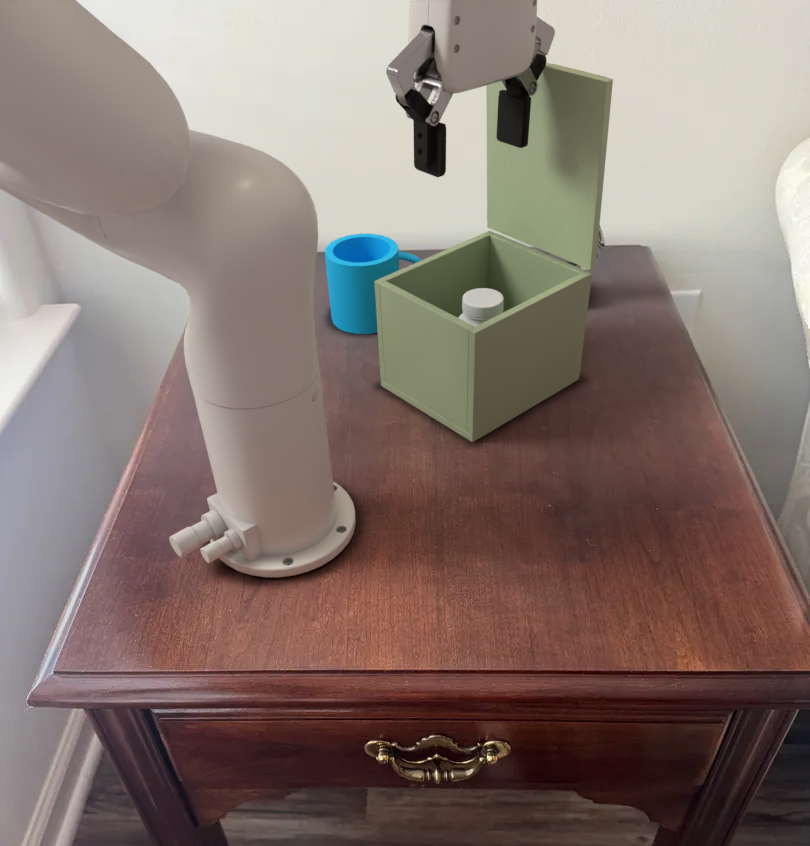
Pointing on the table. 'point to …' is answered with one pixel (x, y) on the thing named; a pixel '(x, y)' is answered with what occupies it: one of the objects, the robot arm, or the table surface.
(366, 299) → the mug
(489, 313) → the pill bottle
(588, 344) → the table surface
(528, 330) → the chest
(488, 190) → the lid
